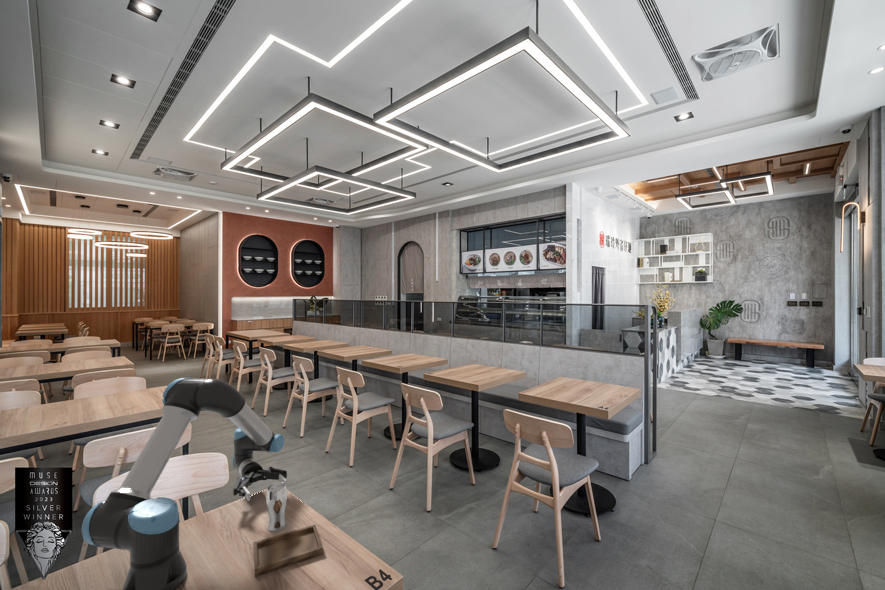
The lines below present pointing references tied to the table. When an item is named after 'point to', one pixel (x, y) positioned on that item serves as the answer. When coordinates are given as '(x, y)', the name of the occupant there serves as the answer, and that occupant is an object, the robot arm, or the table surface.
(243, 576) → the table surface
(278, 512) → the silver metal cup
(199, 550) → the table surface
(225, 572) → the table surface
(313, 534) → the walnut tray
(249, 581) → the table surface
